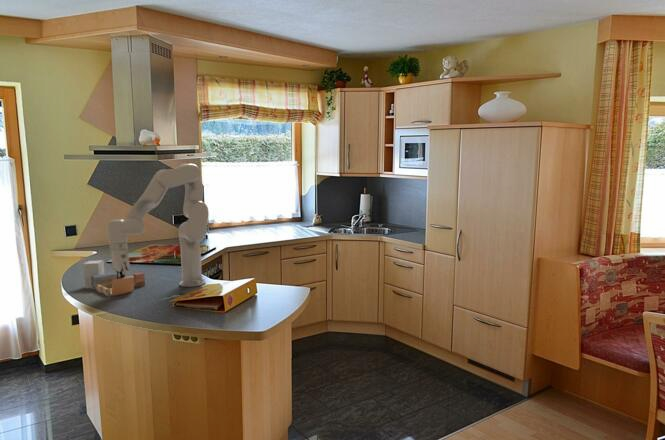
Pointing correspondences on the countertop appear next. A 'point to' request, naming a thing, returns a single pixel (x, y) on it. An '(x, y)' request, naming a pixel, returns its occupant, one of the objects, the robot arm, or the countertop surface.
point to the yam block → (139, 279)
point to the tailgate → (122, 285)
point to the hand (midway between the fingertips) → (121, 285)
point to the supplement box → (92, 271)
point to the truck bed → (103, 283)
